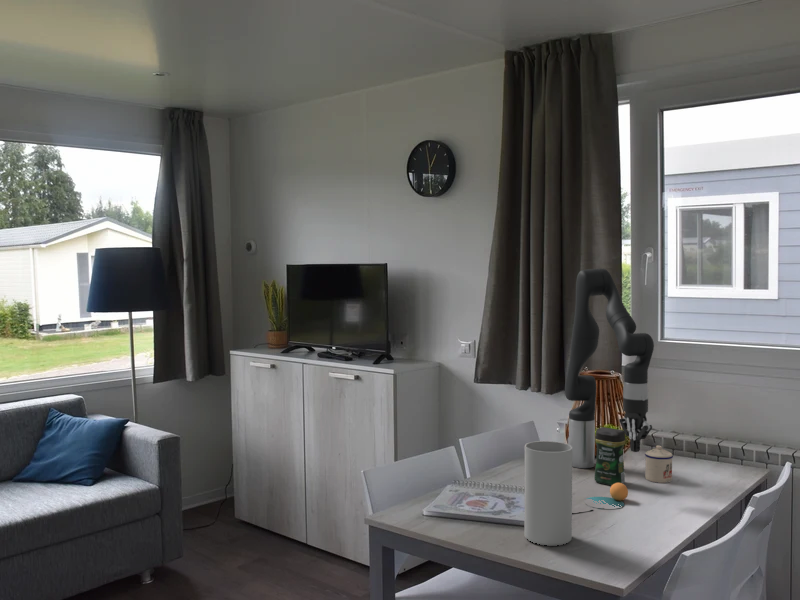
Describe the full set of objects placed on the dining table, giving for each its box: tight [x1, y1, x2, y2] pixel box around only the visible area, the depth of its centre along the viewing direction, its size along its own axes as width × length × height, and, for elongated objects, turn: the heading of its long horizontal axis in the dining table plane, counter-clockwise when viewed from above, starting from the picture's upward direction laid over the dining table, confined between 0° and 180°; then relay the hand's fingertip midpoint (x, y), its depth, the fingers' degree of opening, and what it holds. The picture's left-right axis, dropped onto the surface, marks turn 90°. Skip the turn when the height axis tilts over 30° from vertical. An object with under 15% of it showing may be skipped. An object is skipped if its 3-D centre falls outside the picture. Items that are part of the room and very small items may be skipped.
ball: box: [609, 483, 629, 502], centre depth 231 cm, size 6×6×6 cm
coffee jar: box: [594, 426, 626, 486], centre depth 250 cm, size 10×8×19 cm
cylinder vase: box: [523, 440, 573, 547], centre depth 198 cm, size 12×12×25 cm
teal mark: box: [586, 496, 625, 507], centre depth 228 cm, size 12×12×1 cm
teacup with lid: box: [644, 445, 674, 484], centre depth 255 cm, size 12×9×12 cm
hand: (635, 451), depth 233 cm, fingers closed
